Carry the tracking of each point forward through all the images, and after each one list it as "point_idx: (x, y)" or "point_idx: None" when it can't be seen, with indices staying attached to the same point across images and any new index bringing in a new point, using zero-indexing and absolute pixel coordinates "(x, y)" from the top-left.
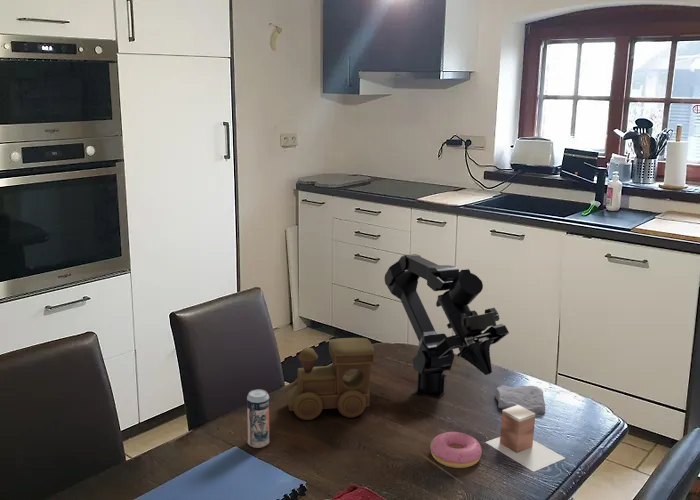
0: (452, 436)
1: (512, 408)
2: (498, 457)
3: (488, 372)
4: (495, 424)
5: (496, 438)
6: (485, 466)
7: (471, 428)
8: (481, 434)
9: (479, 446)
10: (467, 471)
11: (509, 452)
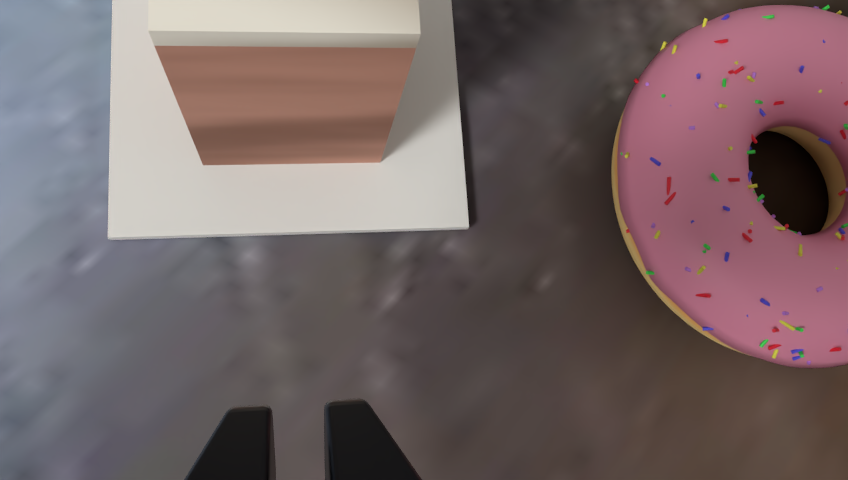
0: (807, 250)
1: (285, 3)
2: (505, 48)
3: (347, 400)
4: (168, 427)
5: (351, 225)
6: (649, 18)
7: None
8: (397, 349)
9: (692, 48)
10: None
11: None
